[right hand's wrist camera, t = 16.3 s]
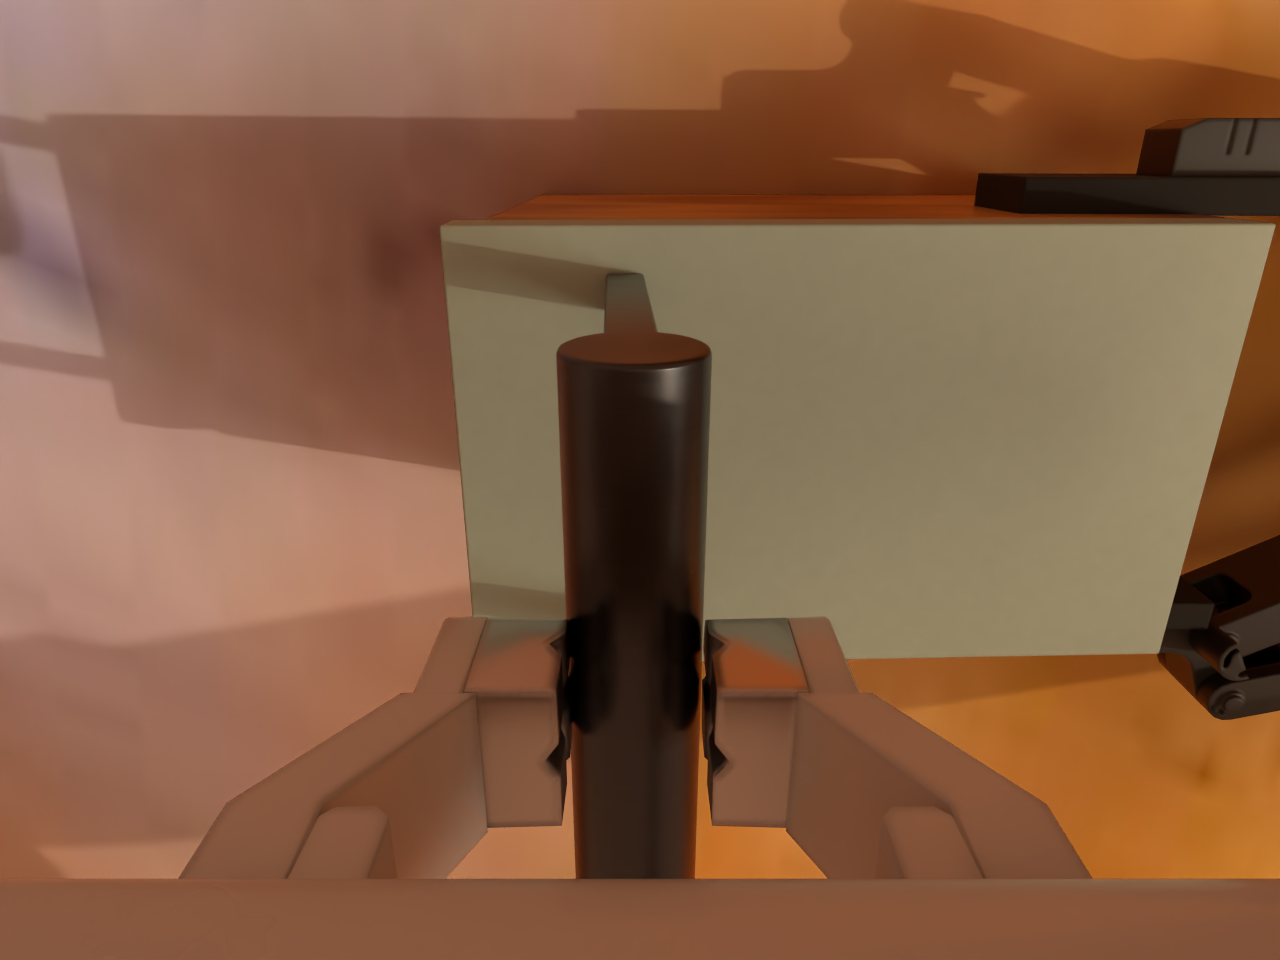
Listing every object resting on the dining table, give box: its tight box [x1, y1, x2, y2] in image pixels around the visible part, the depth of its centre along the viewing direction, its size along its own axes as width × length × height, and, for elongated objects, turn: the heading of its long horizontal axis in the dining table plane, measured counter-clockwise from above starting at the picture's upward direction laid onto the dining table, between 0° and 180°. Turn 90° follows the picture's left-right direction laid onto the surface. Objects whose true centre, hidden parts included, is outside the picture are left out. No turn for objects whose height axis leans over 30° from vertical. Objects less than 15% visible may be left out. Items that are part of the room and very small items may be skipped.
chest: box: [489, 194, 1224, 220], centre depth 22 cm, size 15×9×9 cm, turn 90°
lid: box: [439, 218, 1275, 879], centre depth 14 cm, size 16×9×9 cm, turn 90°
